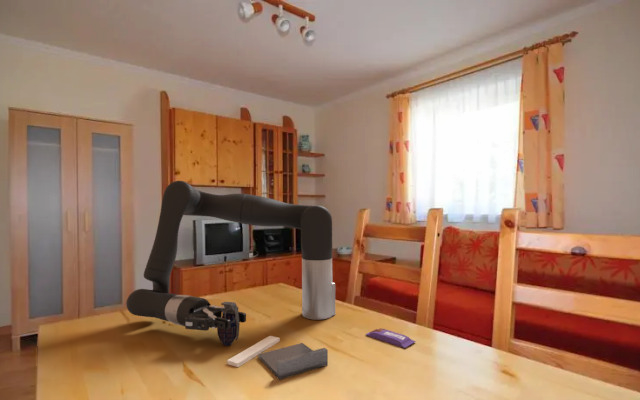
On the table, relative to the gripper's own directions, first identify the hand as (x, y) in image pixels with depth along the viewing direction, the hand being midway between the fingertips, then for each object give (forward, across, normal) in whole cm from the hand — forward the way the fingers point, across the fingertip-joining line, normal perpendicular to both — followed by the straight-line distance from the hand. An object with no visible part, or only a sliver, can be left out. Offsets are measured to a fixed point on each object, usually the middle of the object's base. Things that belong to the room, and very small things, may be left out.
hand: (237, 321), depth 79 cm
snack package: (+30, +21, +7) cm, 38 cm away
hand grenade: (-3, 0, +6) cm, 7 cm away
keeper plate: (+15, 0, +6) cm, 17 cm away
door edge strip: (+5, 0, +6) cm, 8 cm away
